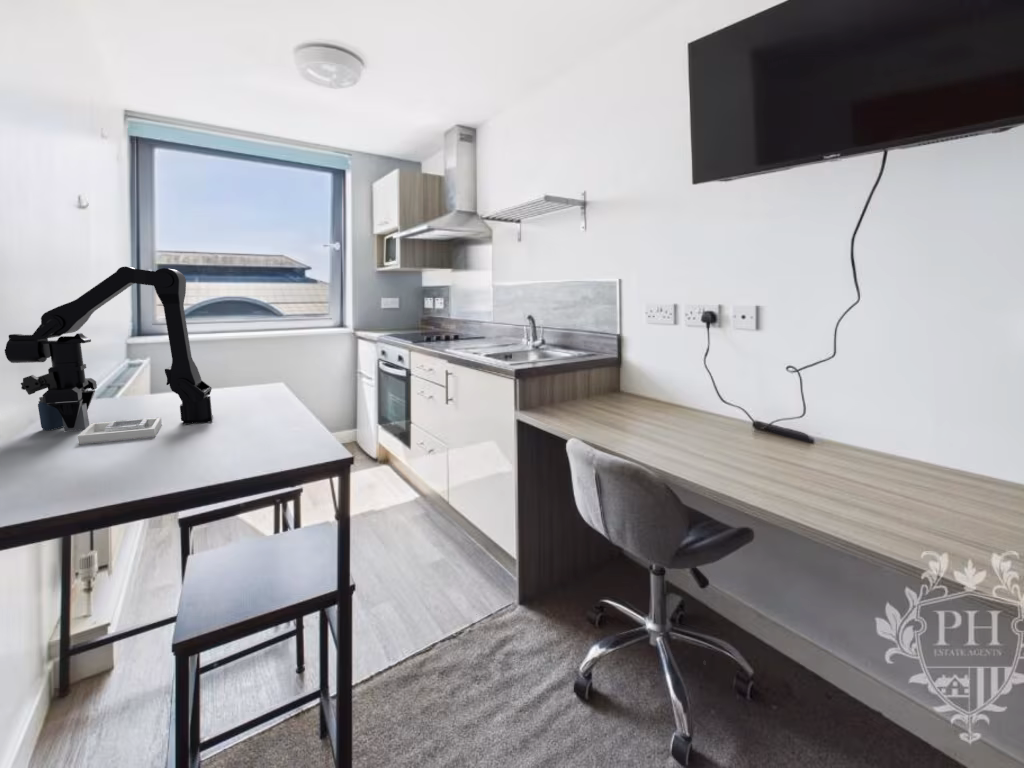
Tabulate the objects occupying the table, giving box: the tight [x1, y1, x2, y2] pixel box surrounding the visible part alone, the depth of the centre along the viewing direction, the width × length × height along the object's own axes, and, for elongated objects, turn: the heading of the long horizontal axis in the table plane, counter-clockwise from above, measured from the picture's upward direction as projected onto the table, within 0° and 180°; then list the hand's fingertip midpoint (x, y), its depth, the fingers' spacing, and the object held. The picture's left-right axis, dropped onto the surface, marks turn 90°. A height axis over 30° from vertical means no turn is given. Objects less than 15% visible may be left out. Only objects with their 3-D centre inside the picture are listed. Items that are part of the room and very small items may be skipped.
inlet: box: [105, 418, 149, 433], centre depth 119 cm, size 7×7×2 cm
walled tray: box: [77, 417, 163, 445], centre depth 119 cm, size 14×12×2 cm
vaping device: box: [37, 387, 64, 431], centre depth 122 cm, size 3×5×12 cm, turn 174°
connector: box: [62, 403, 90, 432], centre depth 122 cm, size 4×4×7 cm
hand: (76, 423), depth 123 cm, fingers open, 9 cm apart
